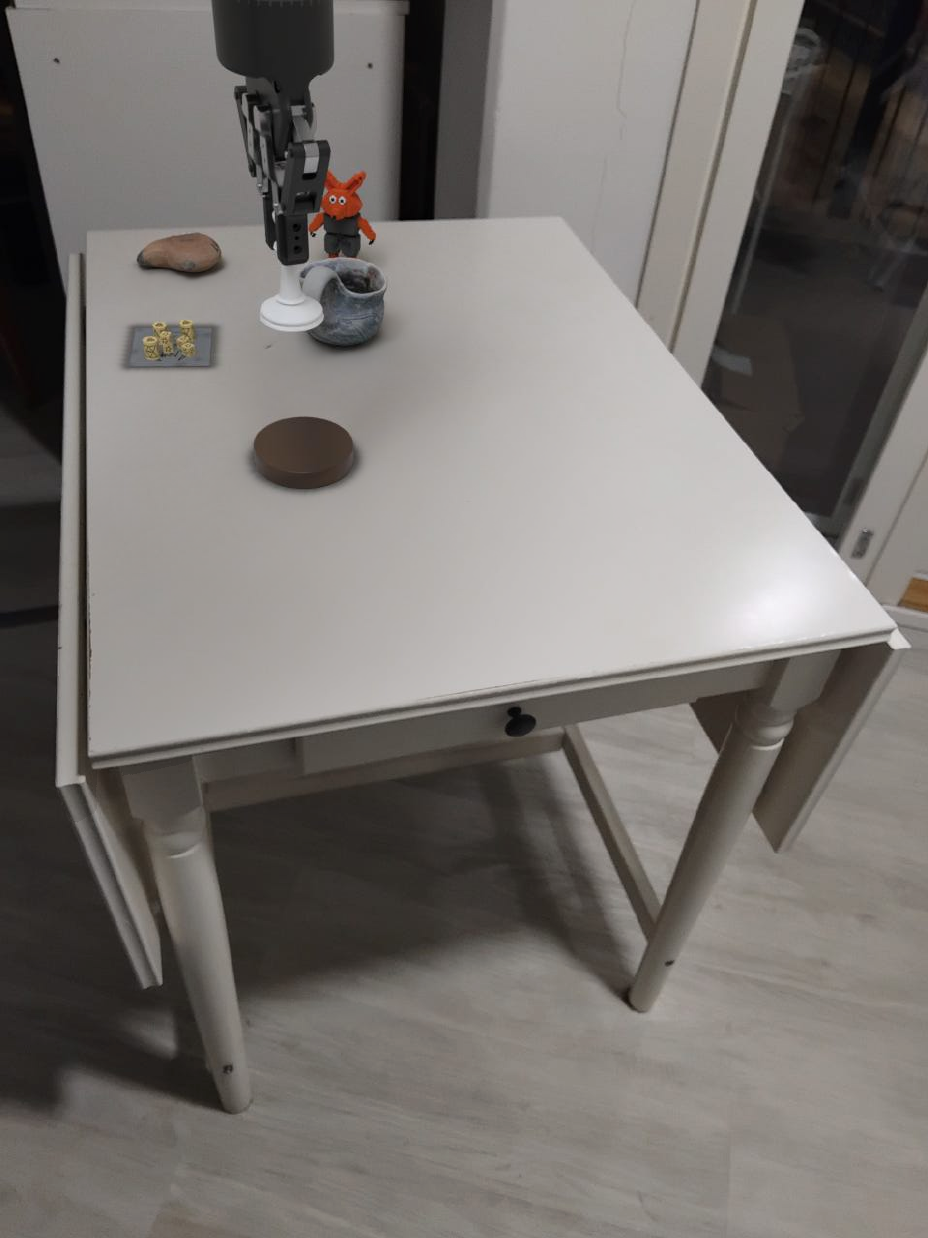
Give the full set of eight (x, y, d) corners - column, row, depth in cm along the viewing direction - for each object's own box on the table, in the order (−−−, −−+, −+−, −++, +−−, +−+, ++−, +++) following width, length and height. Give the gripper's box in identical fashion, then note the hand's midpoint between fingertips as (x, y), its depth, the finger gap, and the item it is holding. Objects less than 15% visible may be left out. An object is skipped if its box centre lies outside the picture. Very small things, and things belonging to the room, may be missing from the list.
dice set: (144, 360, 98) (141, 343, 97) (148, 335, 101) (146, 319, 100) (195, 360, 99) (193, 343, 97) (197, 335, 102) (195, 319, 101)
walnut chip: (273, 497, 83) (272, 481, 82) (242, 443, 89) (240, 426, 88) (368, 476, 87) (368, 460, 86) (332, 424, 92) (331, 408, 91)
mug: (394, 323, 108) (397, 236, 101) (369, 379, 99) (370, 287, 92) (312, 310, 108) (309, 223, 101) (279, 365, 99) (273, 273, 92)
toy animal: (302, 282, 113) (297, 178, 105) (313, 263, 117) (309, 161, 109) (368, 291, 113) (369, 187, 104) (376, 271, 117) (378, 170, 108)
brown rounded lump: (178, 252, 118) (133, 276, 113) (170, 219, 115) (124, 242, 110) (234, 263, 114) (190, 287, 109) (227, 229, 112) (182, 253, 107)
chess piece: (319, 334, 72) (314, 201, 65) (254, 329, 72) (242, 195, 65) (327, 304, 76) (323, 175, 69) (265, 299, 76) (255, 169, 69)
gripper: (371, 6, 55) (369, 288, 68) (292, -46, 64) (304, 212, 76) (245, 10, 53) (267, 303, 65) (181, -45, 61) (211, 223, 73)
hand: (287, 253), depth 70 cm, fingers closed on chess piece
